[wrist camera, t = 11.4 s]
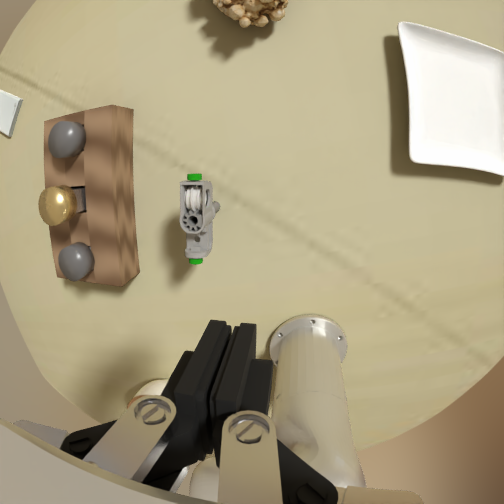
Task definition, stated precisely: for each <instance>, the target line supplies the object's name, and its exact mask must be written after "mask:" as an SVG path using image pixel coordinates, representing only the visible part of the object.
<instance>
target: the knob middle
mask: <svg viewBox="0 0 504 504" xmlns="http://www.w3.org/2000/svg"><path fill="white" fill-rule="evenodd" d="M84 210H87V209H86V195H85V187H78V188H72V189H71V188H70V187H69V186H67V185H59V186H54V187H50V188H46V189H45V190H43V192H42V193H41V195H40V198H39V212H40V215H41V217H42V219H43V221H44V222H45V223H46V224H48V225H50V226H56V225H58V224H61V223H64V222H66V221H69V220H71V219H72V218H73V217H74V215H75V213H78V212H81V211H84Z"/></svg>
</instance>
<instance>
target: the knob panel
mask: <svg viewBox="0 0 504 504" xmlns="http://www.w3.org/2000/svg"><path fill="white" fill-rule="evenodd" d="M60 121H70V122H79V123H81V124H82V125H83V127H84V128H85V132H86V142H85V146H84V150H82V151H81V152H80V153H79V154H78V155H77V156H74V157H65V158H56V157H54V156H53V155H52V154H51V153H50V151H49V147H48V137H49V134H50V131H51V129H52V127H53V126H54V125H55V124H56V123H58V122H60ZM44 172H45V189H46V188H50V187H54V186H59V185H67V186H69V187H70V188H71V189H72V188H78V187H85V195H86V209H87V210H84V211H81V212H78V213H75V215H74V217H73V218H72V219H71V220H69V221H66V222H64V223H61V224H58V225H56V226H50V225H49V231H50V238H51V245H52V251H53V257H54V263H55V268H56V273H57V277H59V278H65V279H67V278H66V277H65V276H64V274H63V273H62V271H61V269H60V267H59V263H58V256H59V253H60V251H61V250H62V249H63V248H65V247H67V246H69V245H72V244H74V243H76V242H83V243H85V244H86V245H87V246H90V247H91V251H92V253H93V255H94V260H95V264H94V268H93V270H92V272H90V273H89V274H87V275H86V276H84V277H83V278H81V279H80V280H78V281H85V282H92V283H99V284H106V285H113V286H121V287H122V286H123V285H125V284H126V283H127V282H128V281H130V280H131V279H132V278H133V277H135V276H136V275H137V274H138V273H139V272H140V269H139V259H138V249H137V238H136V225H135V209H134V188H133V109H129V108H125V107H120V106H116V105H109V106H104V107H99V108H94V109H90V110H85V111H81V112H77V113H73V114H69V115H65V116H62V117H58V118H54V119H51V120H47V121H44Z"/></svg>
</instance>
